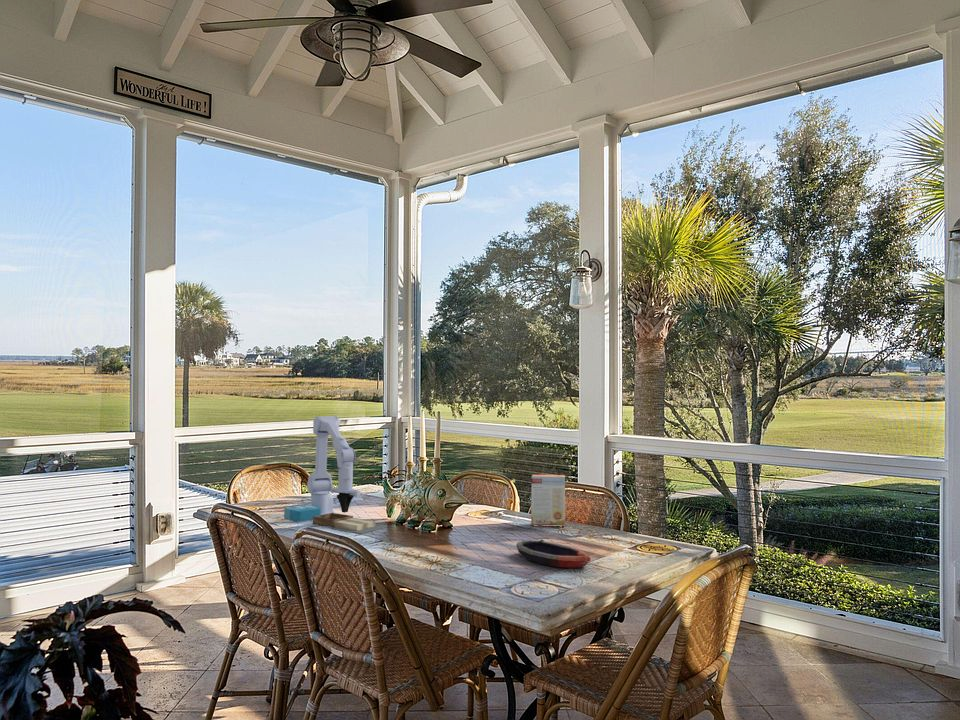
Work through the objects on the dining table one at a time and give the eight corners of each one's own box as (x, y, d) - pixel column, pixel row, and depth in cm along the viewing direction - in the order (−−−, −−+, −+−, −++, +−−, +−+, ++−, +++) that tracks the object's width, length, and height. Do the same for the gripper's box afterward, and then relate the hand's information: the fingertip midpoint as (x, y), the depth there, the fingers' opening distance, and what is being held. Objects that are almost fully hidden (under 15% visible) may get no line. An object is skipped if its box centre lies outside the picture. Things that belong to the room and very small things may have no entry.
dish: (536, 549, 265) (536, 535, 265) (602, 567, 241) (602, 552, 241) (504, 556, 255) (504, 541, 255) (569, 575, 231) (570, 559, 231)
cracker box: (564, 524, 309) (565, 474, 310) (564, 527, 303) (565, 476, 304) (531, 523, 311) (531, 473, 311) (530, 526, 305) (531, 475, 305)
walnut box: (331, 519, 312) (331, 512, 312) (352, 523, 305) (353, 515, 305) (312, 524, 302) (312, 516, 302) (334, 527, 296) (334, 520, 296)
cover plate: (353, 522, 305) (353, 517, 305) (375, 526, 299) (375, 521, 299) (334, 526, 296) (334, 521, 296) (357, 530, 289) (357, 525, 289)
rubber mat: (357, 522, 307) (357, 521, 307) (387, 527, 298) (387, 526, 298) (330, 528, 293) (330, 528, 293) (361, 534, 285) (361, 533, 285)
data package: (282, 507, 314) (307, 504, 322) (282, 518, 314) (307, 514, 322) (297, 511, 305) (322, 508, 314) (297, 522, 305) (322, 518, 314)
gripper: (325, 478, 301) (324, 511, 301) (352, 481, 293) (351, 515, 293) (337, 476, 307) (336, 508, 307) (364, 479, 299) (363, 512, 299)
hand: (344, 512), depth 300 cm, fingers closed
